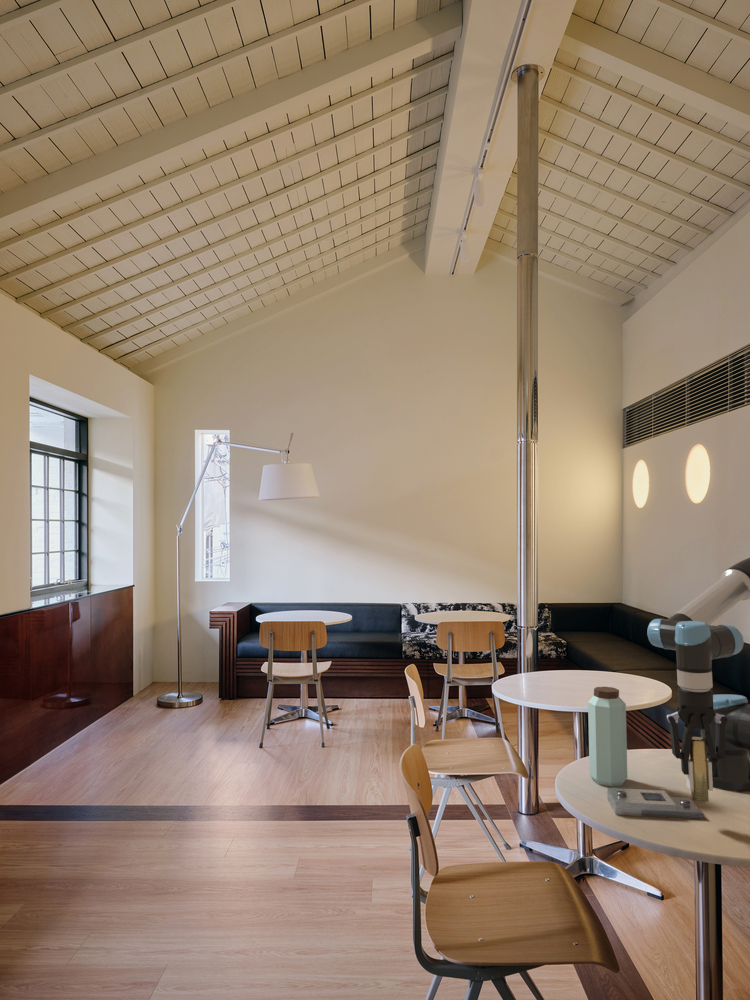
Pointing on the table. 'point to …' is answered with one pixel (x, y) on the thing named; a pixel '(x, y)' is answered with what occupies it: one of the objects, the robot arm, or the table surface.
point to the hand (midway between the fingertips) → (699, 788)
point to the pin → (699, 770)
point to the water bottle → (607, 737)
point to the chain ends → (651, 804)
